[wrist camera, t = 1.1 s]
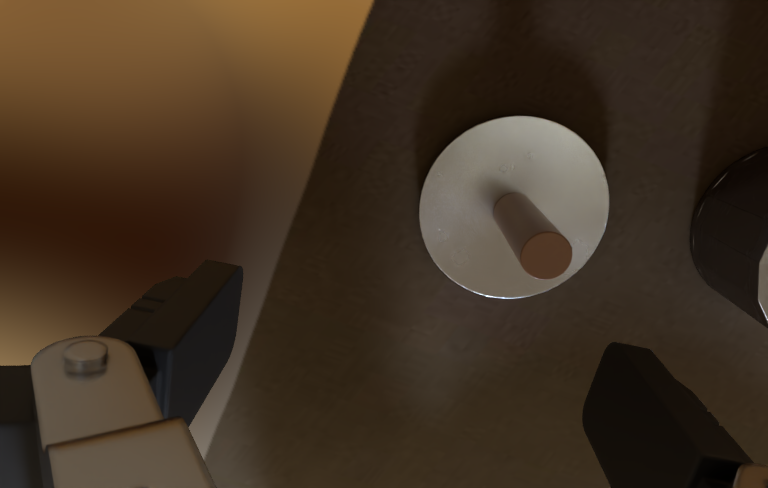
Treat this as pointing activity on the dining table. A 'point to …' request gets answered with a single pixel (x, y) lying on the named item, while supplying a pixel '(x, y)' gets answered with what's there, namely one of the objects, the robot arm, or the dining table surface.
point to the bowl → (736, 235)
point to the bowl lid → (513, 206)
